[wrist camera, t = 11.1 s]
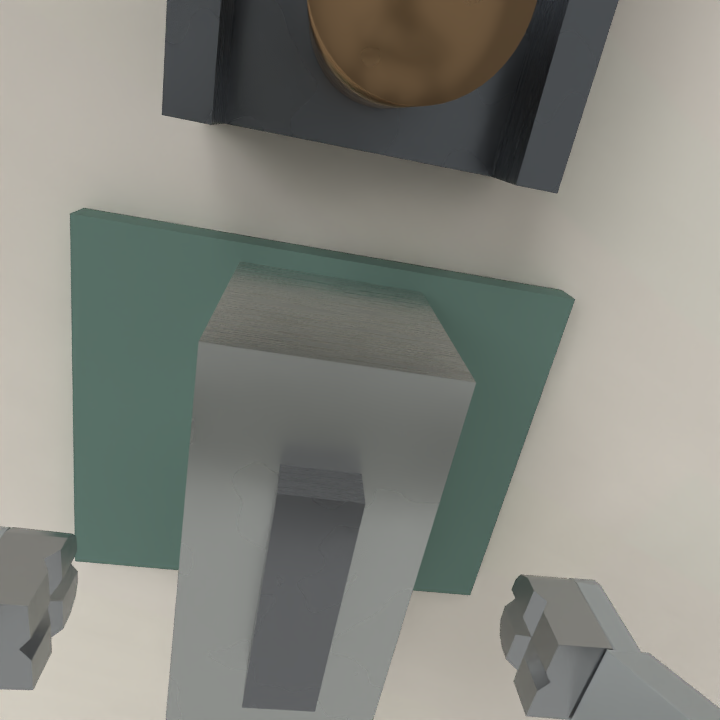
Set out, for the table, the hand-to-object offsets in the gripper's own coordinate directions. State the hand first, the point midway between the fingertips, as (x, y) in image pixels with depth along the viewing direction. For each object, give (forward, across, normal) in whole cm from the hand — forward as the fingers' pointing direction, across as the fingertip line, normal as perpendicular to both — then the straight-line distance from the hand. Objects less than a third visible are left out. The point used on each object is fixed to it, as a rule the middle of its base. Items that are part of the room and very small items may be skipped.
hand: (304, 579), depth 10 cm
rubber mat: (+6, 0, 0) cm, 6 cm away
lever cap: (+5, 0, 0) cm, 5 cm away
